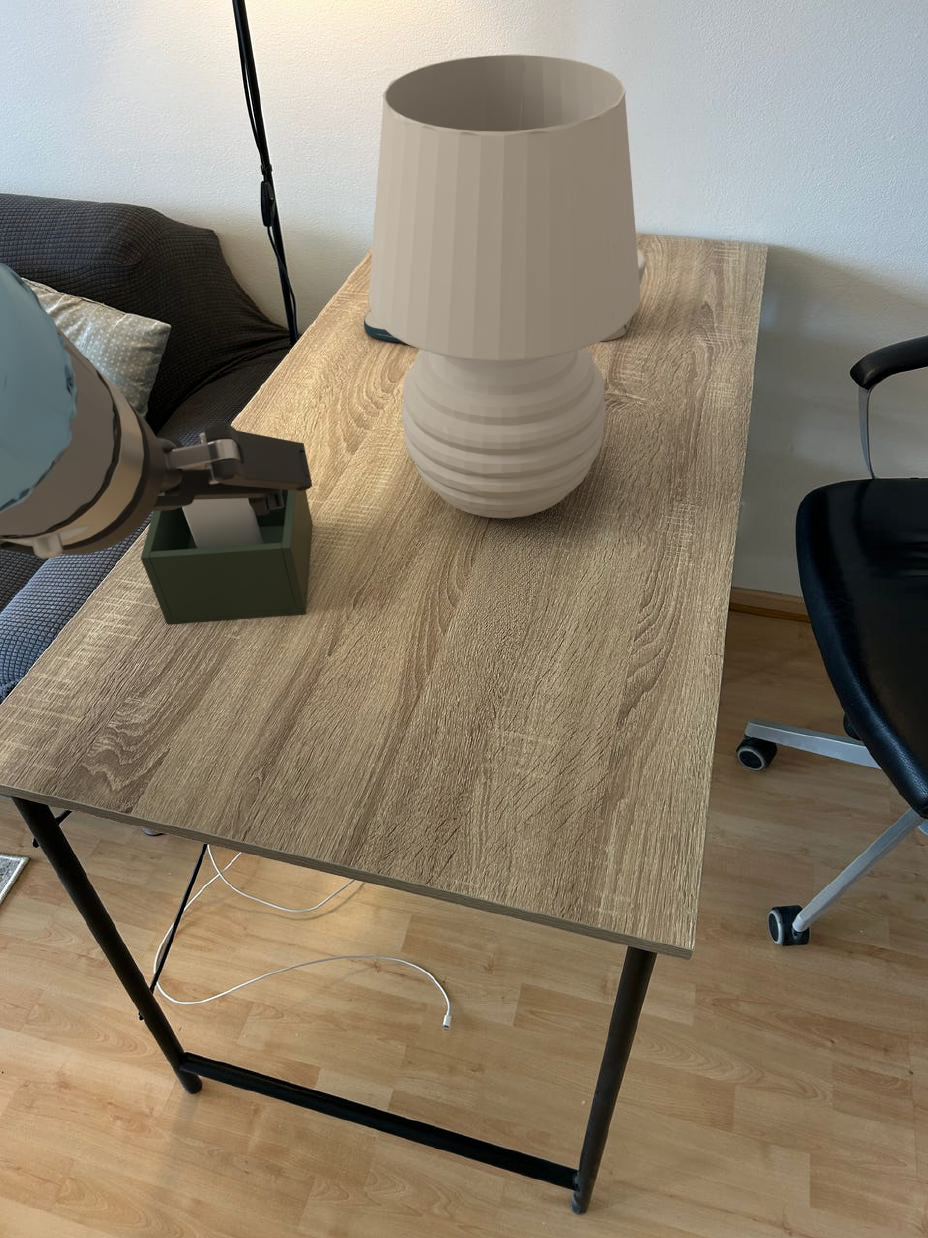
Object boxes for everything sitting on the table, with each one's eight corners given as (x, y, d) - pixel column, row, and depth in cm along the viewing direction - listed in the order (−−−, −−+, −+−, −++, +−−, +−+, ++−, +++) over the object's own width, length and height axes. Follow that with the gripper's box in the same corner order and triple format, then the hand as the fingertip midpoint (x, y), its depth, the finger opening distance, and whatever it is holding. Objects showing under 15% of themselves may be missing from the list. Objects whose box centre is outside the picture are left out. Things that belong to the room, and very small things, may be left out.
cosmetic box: (265, 547, 94) (240, 452, 85) (269, 576, 91) (244, 480, 82) (206, 558, 93) (174, 463, 84) (208, 587, 90) (175, 492, 81)
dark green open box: (166, 624, 88) (140, 557, 81) (187, 533, 97) (164, 467, 91) (305, 614, 88) (290, 547, 82) (312, 524, 97) (299, 458, 91)
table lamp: (566, 405, 111) (588, 31, 82) (655, 532, 95) (723, 117, 66) (368, 447, 107) (317, 65, 78) (425, 587, 90) (388, 167, 61)
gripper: (-272, 610, 34) (-44, 611, 55) (376, 491, 38) (357, 534, 59) (-318, 414, 34) (-71, 490, 55) (339, 314, 37) (334, 421, 58)
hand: (151, 513), depth 57 cm, fingers open, 13 cm apart
